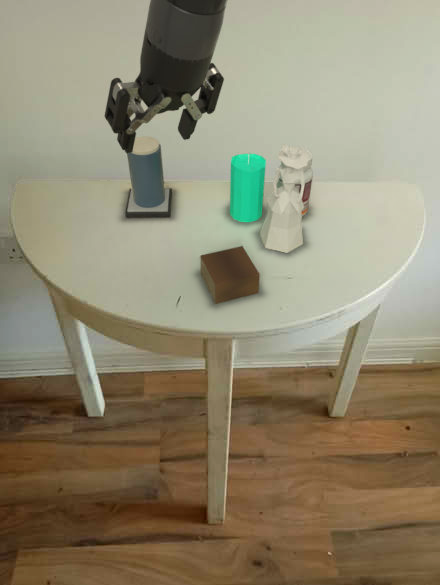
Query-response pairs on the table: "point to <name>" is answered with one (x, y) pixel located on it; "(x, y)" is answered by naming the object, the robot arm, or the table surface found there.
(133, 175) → the canister
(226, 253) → the block
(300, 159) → the figurine
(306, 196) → the pill bottle
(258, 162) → the candle
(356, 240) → the table surface
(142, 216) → the scale
